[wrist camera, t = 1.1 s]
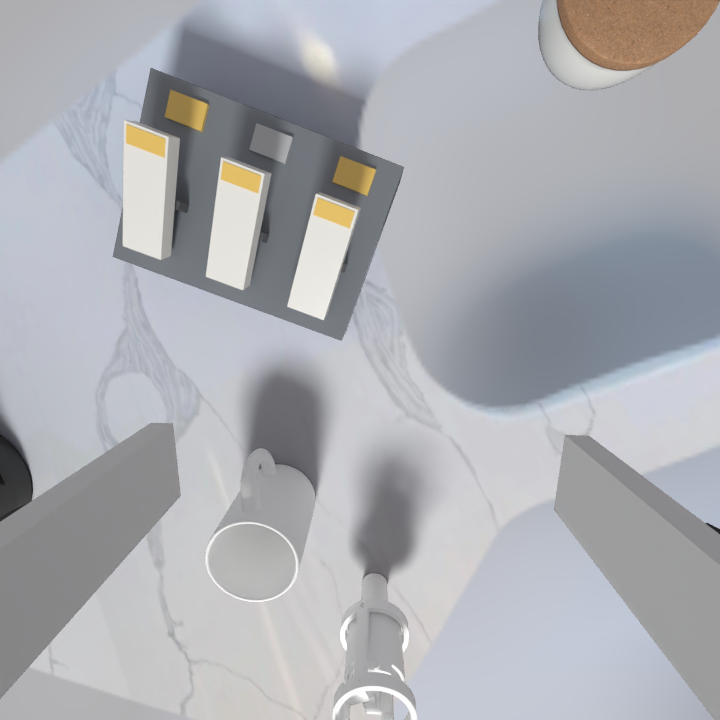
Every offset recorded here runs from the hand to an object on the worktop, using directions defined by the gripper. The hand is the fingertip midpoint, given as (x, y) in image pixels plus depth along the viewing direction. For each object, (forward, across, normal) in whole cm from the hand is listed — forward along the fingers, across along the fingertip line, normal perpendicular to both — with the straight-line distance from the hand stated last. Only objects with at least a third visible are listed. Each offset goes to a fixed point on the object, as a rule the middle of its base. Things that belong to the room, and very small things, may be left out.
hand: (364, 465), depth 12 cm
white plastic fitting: (+26, +1, -30) cm, 40 cm away
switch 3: (+18, -4, +7) cm, 20 cm away
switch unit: (+26, -10, +11) cm, 30 cm away
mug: (+26, -10, -16) cm, 33 cm away
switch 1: (+18, -17, +12) cm, 28 cm away
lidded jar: (+26, +17, +26) cm, 41 cm away
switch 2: (+18, -11, +10) cm, 23 cm away
